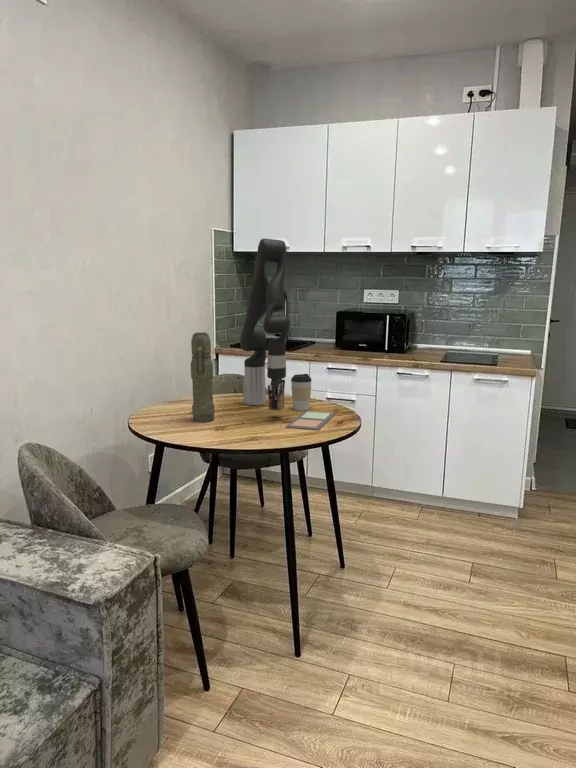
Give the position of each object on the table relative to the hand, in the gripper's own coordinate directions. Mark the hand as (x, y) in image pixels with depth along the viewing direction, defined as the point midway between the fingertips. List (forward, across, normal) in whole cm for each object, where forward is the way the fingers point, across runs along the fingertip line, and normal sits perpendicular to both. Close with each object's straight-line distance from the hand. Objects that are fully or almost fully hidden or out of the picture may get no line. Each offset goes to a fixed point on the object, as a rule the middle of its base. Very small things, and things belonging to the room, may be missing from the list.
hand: (276, 407), depth 233 cm
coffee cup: (+5, -19, +4) cm, 20 cm away
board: (+4, 0, +15) cm, 15 cm away
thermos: (+5, +12, -27) cm, 30 cm away
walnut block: (+1, 0, 0) cm, 1 cm away
